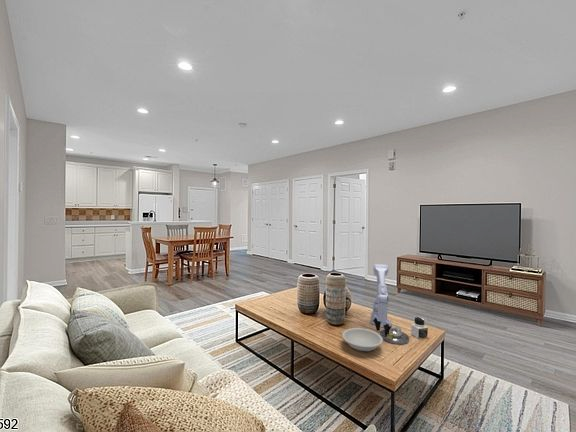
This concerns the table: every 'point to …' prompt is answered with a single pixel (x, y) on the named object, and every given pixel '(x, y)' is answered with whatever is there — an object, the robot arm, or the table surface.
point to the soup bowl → (362, 339)
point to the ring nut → (394, 333)
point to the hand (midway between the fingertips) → (382, 332)
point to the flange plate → (399, 341)
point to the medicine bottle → (419, 328)
